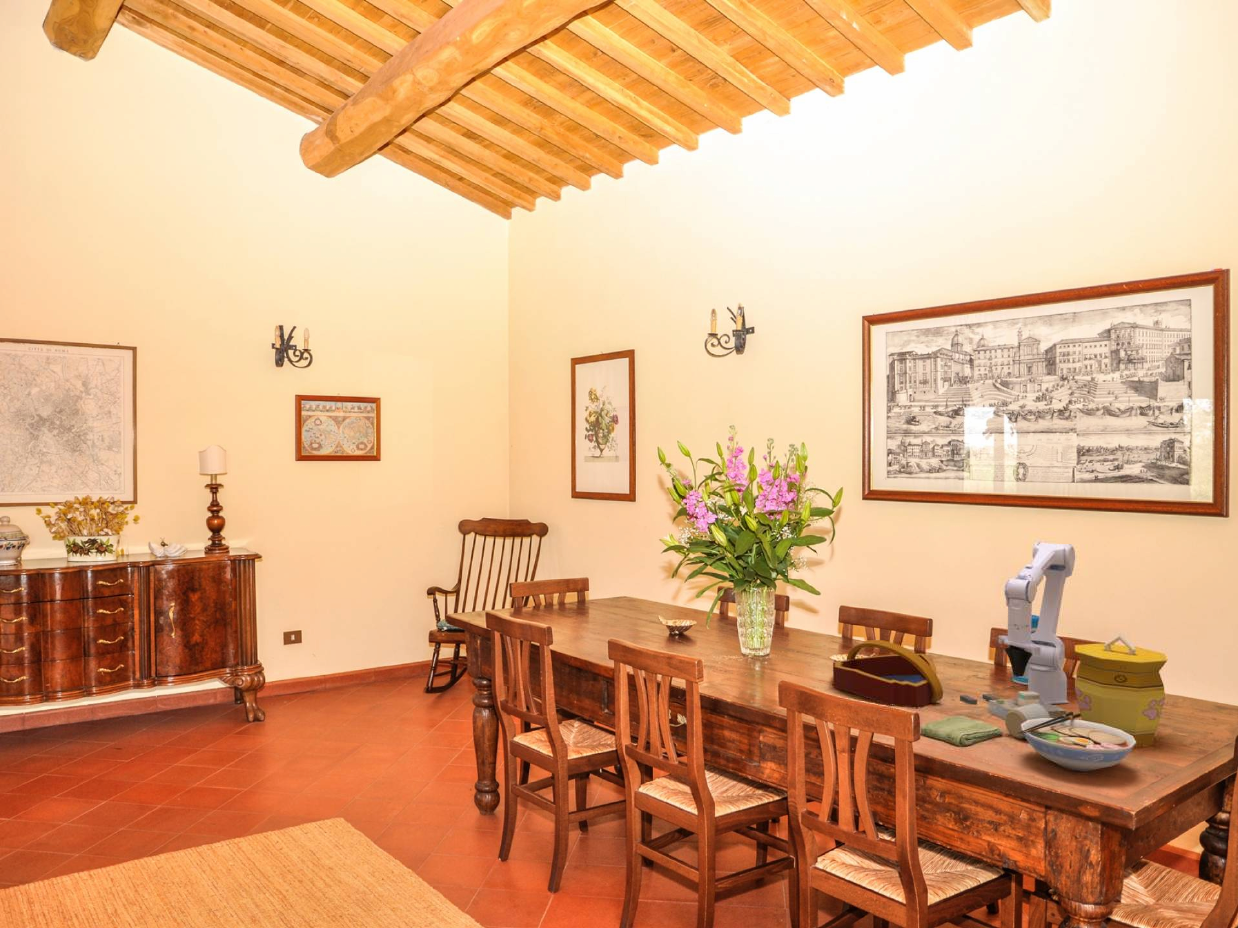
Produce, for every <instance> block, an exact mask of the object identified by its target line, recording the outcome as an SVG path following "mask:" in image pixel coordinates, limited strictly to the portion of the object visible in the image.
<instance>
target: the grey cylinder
mask: <svg viewBox="0 0 1238 928" xmlns="http://www.w3.org/2000/svg"><path fill="white" fill-rule="evenodd" d="M1039 718H1050V715H1049V713H1048V712H1047V710H1046V709H1045V708H1044V707H1043V706H1041V705H1039V704H1030V705H1026V706H1022V707H1018V708H1014V709H1012V710H1010V711H1009V712H1008V713H1007V714H1006V717H1005V720H1004V723H1005V727H1006V730H1007V731H1008V732H1009V734H1010V735H1011V736H1013V738H1015V739H1020V740H1025V739H1026V737H1025V735H1024V733H1023V732H1022V733H1023V734H1020V733H1019V732H1021V731H1022V727H1021V724H1022V723H1024V722H1025V721H1027V720H1032V719H1039ZM1017 733H1019V734H1017ZM1026 740H1027V739H1026Z"/></svg>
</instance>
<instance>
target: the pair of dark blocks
mask: <svg viewBox="0 0 1238 928" xmlns="http://www.w3.org/2000/svg"><path fill="white" fill-rule="evenodd" d="M982 699H983V700H984V699H985V701H987V702H989V700H996V699H1000V698H999V697H997V696H995V695H992V694H990V693H985V694H982ZM959 701H962V702H964V703H966V704H968V705H978V699H976V698H974V697H973V696H972V697H971V696H969V695H967V694H963V695H960V696H959Z"/></svg>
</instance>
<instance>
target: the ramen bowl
mask: <svg viewBox="0 0 1238 928" xmlns="http://www.w3.org/2000/svg"><path fill="white" fill-rule="evenodd" d="M1065 717H1066V718H1065ZM1077 718H1081V714H1080V712H1077V713H1075V714H1074V711H1069V712H1066V714H1063V715H1061V716H1058V717H1056V718H1039V719H1032V720H1027V721H1025V722H1024V723H1022V724H1021V727H1022V731H1021V732H1019V733H1020V734H1023V733H1024V735H1025V737H1026V740H1027V742H1028V744H1029V745H1030V746H1031V747H1032V749H1033V750H1034V751H1035V752H1036V753H1038V754H1040V756H1042V757H1043V758H1045V759H1047V760H1048V761H1051V762H1052V763H1056V764H1057V765H1058V766H1059V767H1062V768H1064V769H1067V768H1068V769H1067V770H1071V771H1075V770H1078V771H1077V772H1092V771H1095V770H1098V769H1103V768H1109V767H1112V766H1115V765H1117V764H1119V763H1120V762H1121V761H1122V760H1123V759H1124V758H1125V757H1127V756H1128V755H1129V753H1130V752H1131V751H1132V750H1133V749H1134V748H1135V747H1134V745H1135V744H1136V741H1135V739H1134V737H1133V736H1131V735H1130V734H1128V733H1126V732H1124V731H1122V730H1119V729H1116V728H1113V727H1110V726H1106V725H1103V724H1098V723H1093V722H1088V721H1083V720H1081V719H1077ZM1022 732H1023V733H1022ZM1019 733H1017V734H1019ZM1091 770H1092V771H1091Z"/></svg>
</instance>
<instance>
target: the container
mask: <svg viewBox="0 0 1238 928" xmlns="http://www.w3.org/2000/svg"><path fill="white" fill-rule="evenodd" d="M1119 641H1120V642H1122V644H1123V645H1122V644H1121V645H1120V644H1115V643H1117V642H1119ZM1074 653H1075V654H1076V656H1077V657H1078V659H1079V661H1080V662H1079V664H1078V666H1077V669H1076V673H1075V679H1074V690H1075V694H1076V698H1077V703H1078V704H1077V705H1078V709H1079V711H1078V712H1079V714H1081V717H1080V720H1083V721H1088V722H1093V723H1098V724H1103V725H1106V726H1110V727H1113V728H1116V729H1119V730H1122V731H1124V732H1126V733H1128V734H1130V735H1131V736H1133V737H1134V739H1135V741H1136V744H1135V745H1134V747H1133V748H1137V747H1136V746H1141V747H1144V746H1143V745H1149V746H1154V745H1155V734H1156V732H1157V729H1158V727H1159V724H1160V721H1161V715H1162V713H1163V712H1162V711H1163V708H1164V704H1165V701H1166V692H1165V685H1164V682H1163V680H1162V677H1161V674H1160V673H1161V672H1160V671H1161V670H1162V668H1163V667H1164V666H1165V665H1166V663H1167V662H1168V658H1167V656H1166V654H1165V653H1162V652H1159V651H1155V650H1151V649H1146V648H1142V647H1138V646H1133V645H1132V643H1130V642H1129V641H1128V640H1127V639H1126V638H1125V636H1123V635H1122V634H1121V633H1120V634H1117V636H1115V637H1113V638H1112V639H1110V640H1109V641H1107V642H1106V643H1089V644H1088V643H1085V644H1075V645H1074Z"/></svg>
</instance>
